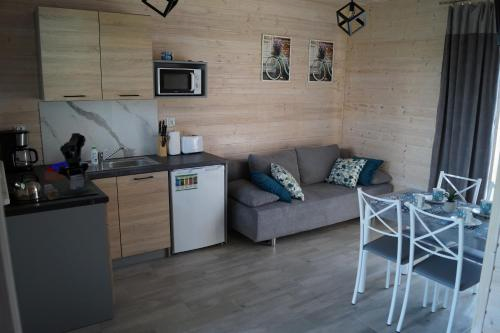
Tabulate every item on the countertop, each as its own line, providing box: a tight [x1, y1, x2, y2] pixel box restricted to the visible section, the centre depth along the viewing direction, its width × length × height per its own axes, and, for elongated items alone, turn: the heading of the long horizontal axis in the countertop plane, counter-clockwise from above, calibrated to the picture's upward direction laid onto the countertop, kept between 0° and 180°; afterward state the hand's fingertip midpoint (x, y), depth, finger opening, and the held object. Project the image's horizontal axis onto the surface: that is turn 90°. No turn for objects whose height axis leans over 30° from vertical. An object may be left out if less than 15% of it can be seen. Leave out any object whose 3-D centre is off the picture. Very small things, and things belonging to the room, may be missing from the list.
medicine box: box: [69, 174, 85, 191], centre depth 270 cm, size 8×4×9 cm, turn 156°
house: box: [43, 160, 70, 181], centre depth 320 cm, size 12×20×12 cm, turn 167°
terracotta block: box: [43, 183, 53, 195], centre depth 272 cm, size 4×4×6 cm
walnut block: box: [47, 188, 60, 201], centre depth 262 cm, size 5×5×5 cm
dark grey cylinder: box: [44, 186, 55, 198], centre depth 267 cm, size 5×5×6 cm
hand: (77, 178), depth 269 cm, fingers closed on medicine box, 9 cm apart
